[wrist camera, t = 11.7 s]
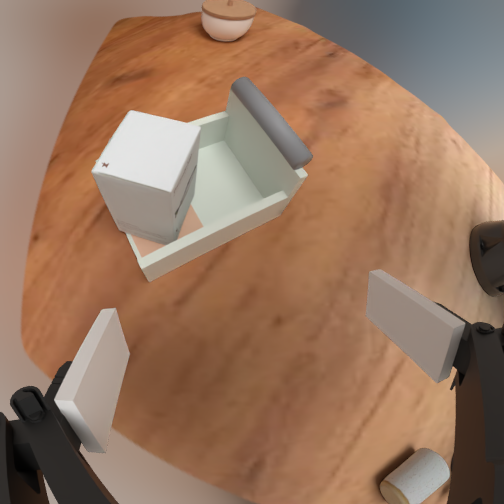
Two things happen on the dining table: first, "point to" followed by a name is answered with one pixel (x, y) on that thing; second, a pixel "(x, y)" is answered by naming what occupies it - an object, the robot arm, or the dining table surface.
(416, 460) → the ceramic mug
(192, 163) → the supplement box
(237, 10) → the lidded jar
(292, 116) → the dining table surface
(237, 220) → the tray
